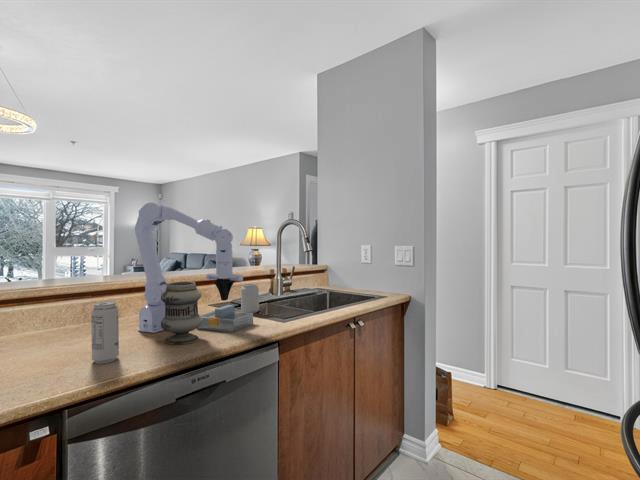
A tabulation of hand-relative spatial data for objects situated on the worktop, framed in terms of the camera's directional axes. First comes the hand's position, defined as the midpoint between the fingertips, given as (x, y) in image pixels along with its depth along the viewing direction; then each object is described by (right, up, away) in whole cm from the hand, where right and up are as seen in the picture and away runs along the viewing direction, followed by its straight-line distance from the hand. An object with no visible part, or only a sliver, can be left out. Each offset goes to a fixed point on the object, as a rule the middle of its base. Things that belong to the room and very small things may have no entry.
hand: (224, 300), depth 125 cm
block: (0, -9, 0) cm, 9 cm away
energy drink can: (-22, -10, -34) cm, 42 cm away
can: (+5, -9, +23) cm, 25 cm away
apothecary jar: (-9, -10, -17) cm, 21 cm away
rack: (0, -9, 0) cm, 9 cm away
